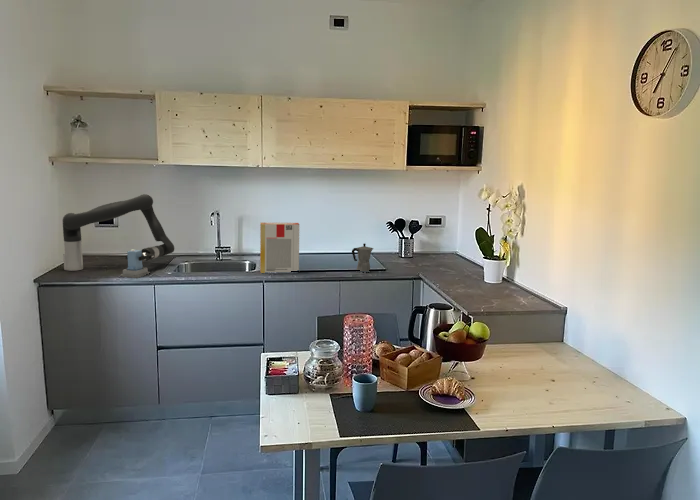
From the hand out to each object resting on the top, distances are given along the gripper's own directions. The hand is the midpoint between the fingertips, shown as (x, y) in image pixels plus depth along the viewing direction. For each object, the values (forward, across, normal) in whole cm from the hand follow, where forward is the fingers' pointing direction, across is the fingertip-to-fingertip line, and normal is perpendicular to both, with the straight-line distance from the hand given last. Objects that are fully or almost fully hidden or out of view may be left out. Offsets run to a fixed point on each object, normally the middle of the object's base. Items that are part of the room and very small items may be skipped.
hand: (132, 258), depth 308 cm
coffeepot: (-60, +120, +10) cm, 135 cm away
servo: (-2, 0, +9) cm, 9 cm away
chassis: (-2, 0, +10) cm, 10 cm away
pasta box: (-41, +73, +10) cm, 84 cm away
